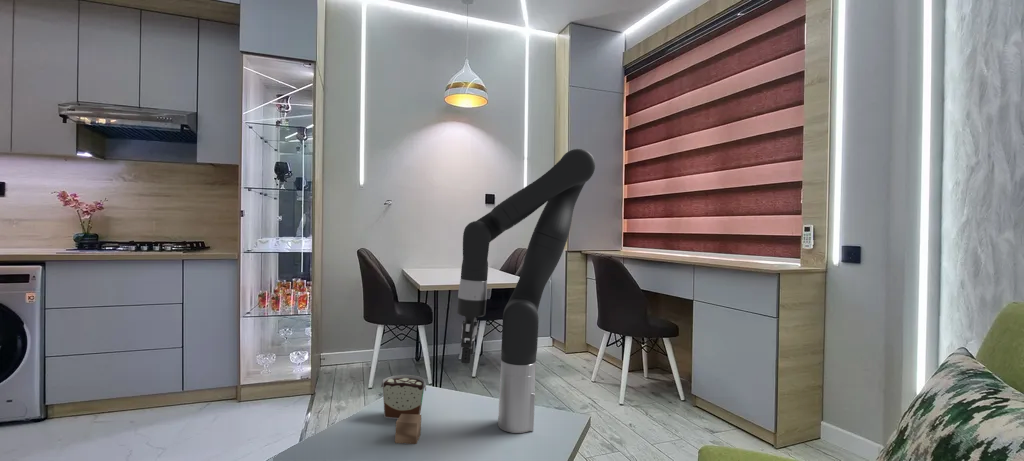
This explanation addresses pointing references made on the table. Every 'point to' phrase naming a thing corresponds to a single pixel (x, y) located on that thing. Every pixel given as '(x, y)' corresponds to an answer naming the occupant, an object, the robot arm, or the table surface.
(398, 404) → the food container
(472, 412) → the table surface
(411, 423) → the walnut cube
